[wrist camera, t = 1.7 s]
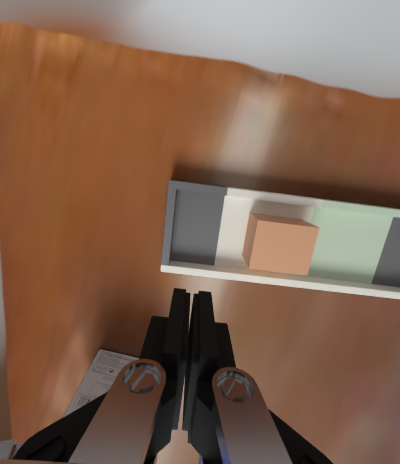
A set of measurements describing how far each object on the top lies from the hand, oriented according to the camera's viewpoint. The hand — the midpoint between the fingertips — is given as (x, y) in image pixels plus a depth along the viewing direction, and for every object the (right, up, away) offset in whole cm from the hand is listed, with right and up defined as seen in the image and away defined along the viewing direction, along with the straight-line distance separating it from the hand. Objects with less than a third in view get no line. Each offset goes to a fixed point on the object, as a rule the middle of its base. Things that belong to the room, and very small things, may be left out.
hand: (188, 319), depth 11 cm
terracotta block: (+9, +3, +17) cm, 19 cm away
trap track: (+12, +3, +17) cm, 21 cm away
